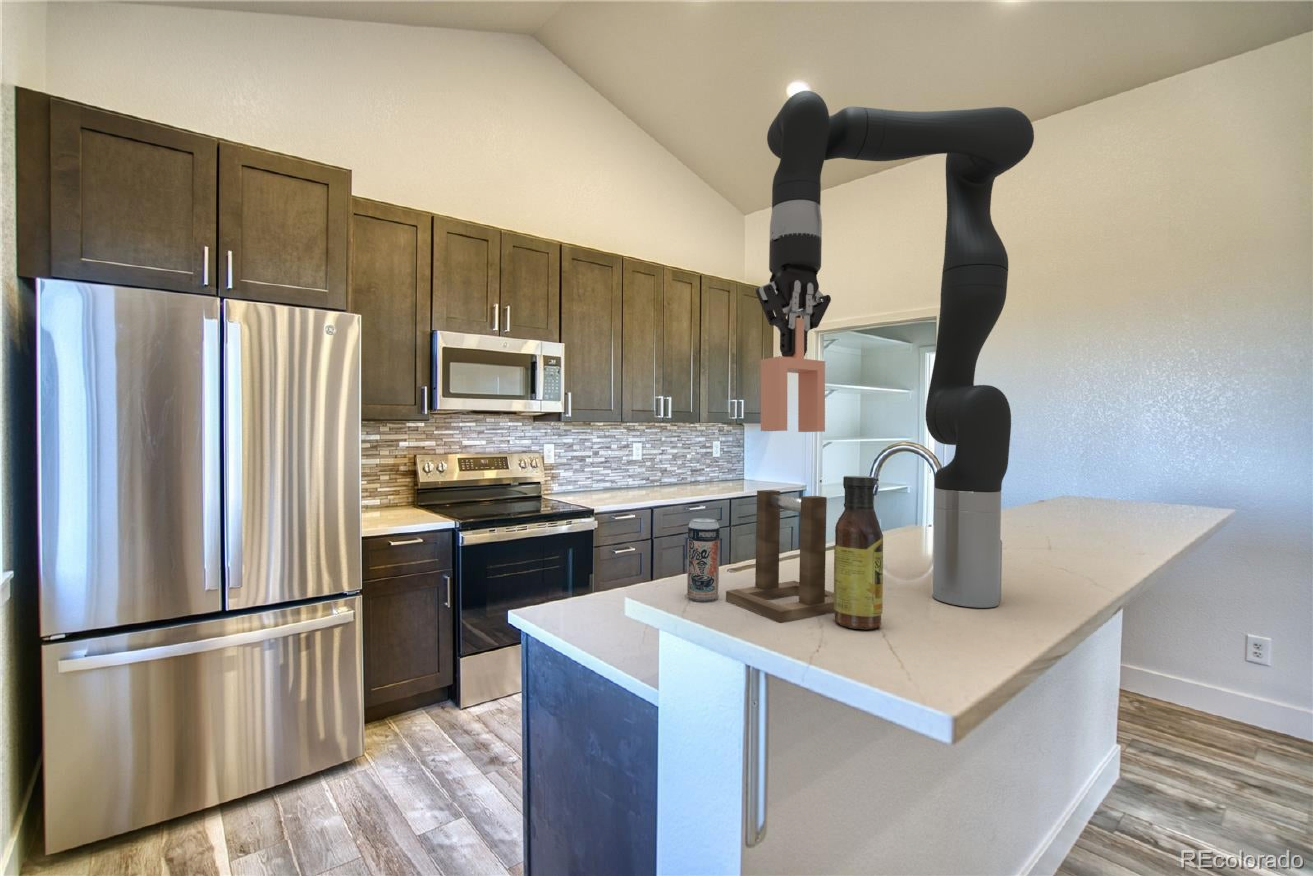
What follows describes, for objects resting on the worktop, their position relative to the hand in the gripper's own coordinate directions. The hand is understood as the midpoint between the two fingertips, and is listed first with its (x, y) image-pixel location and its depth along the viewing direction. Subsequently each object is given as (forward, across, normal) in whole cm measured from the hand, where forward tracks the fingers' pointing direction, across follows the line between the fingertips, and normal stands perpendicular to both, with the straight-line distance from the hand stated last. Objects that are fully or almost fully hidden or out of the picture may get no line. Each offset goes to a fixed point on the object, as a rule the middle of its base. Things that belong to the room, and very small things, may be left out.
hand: (793, 356), depth 89 cm
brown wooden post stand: (+37, 0, 0) cm, 37 cm away
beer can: (+37, +9, -9) cm, 39 cm away
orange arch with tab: (+11, 0, 0) cm, 11 cm away
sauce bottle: (+37, -2, +11) cm, 39 cm away
